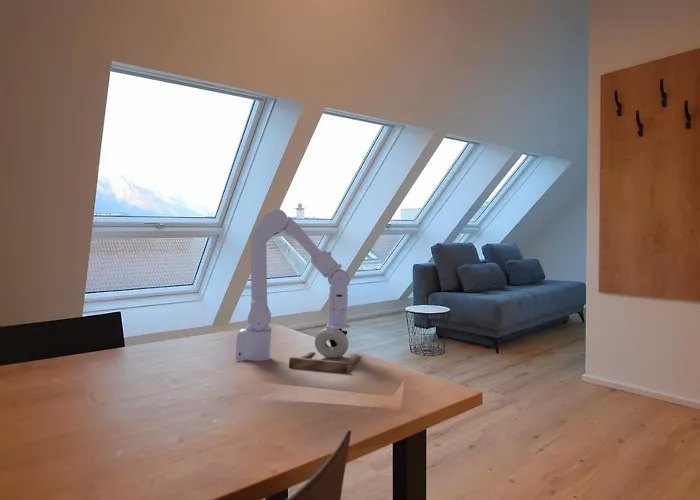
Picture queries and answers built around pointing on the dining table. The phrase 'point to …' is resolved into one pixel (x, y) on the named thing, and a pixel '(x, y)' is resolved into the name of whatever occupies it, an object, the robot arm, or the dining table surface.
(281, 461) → the dining table surface
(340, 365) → the guide track
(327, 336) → the donut
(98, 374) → the dining table surface
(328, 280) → the robot arm
